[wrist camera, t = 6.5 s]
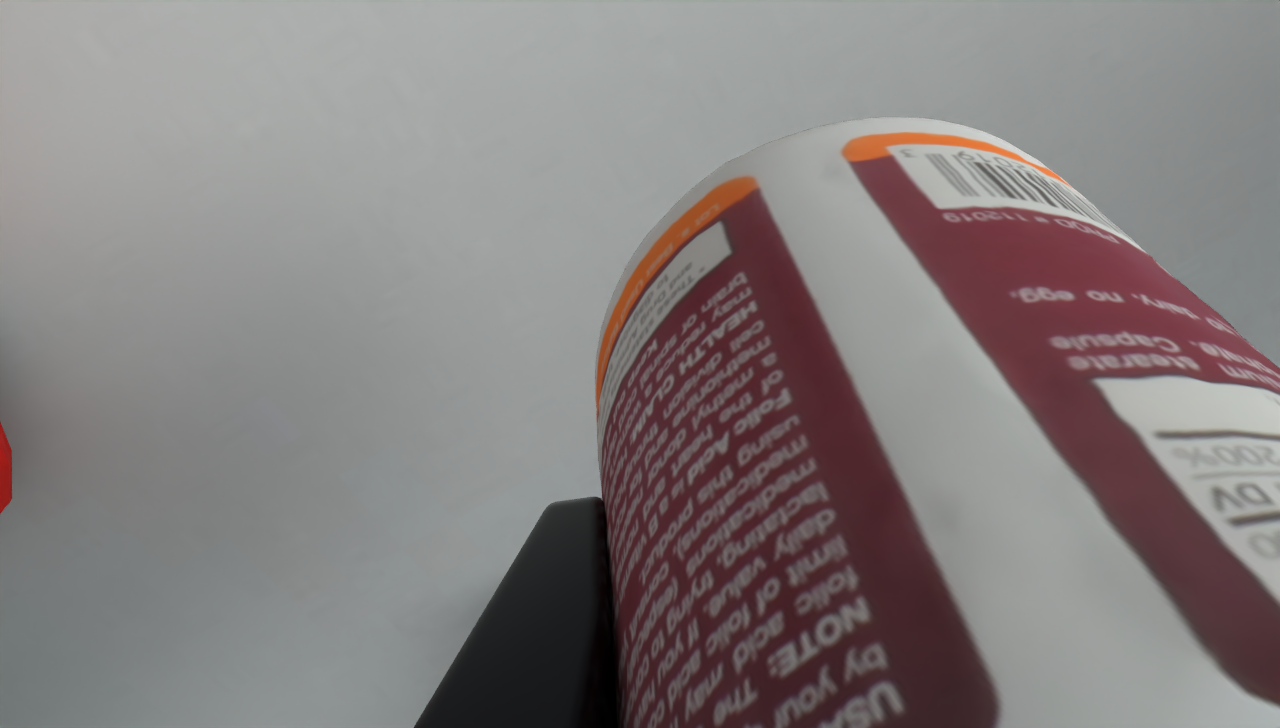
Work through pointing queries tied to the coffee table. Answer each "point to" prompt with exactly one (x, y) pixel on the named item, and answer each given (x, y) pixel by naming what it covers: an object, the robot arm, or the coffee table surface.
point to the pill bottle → (929, 455)
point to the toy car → (5, 471)
